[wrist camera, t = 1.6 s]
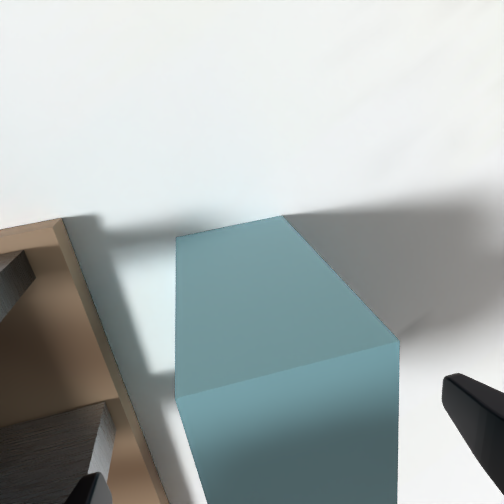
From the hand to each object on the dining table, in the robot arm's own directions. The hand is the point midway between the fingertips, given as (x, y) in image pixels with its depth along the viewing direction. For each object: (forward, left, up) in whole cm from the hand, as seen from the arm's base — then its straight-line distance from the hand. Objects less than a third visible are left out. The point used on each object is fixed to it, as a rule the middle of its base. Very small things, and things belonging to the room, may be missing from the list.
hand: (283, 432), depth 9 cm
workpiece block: (0, 0, -6) cm, 6 cm away
